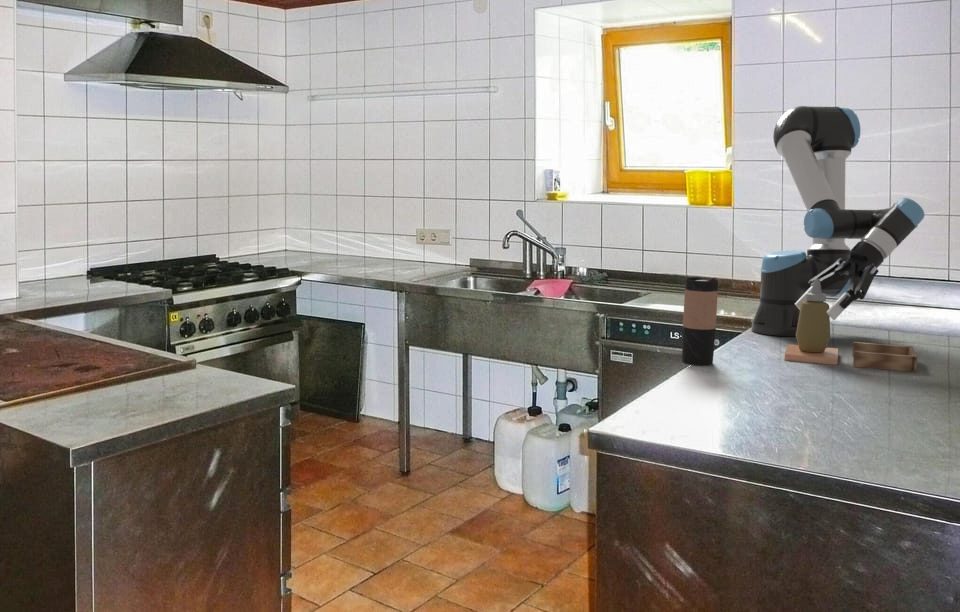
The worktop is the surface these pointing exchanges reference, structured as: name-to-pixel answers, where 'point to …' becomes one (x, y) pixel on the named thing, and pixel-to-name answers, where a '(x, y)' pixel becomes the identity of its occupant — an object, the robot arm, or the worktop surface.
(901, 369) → the wooden tray
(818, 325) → the squeeze bottle
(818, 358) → the terracotta tile
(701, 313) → the travel mug
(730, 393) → the worktop surface
